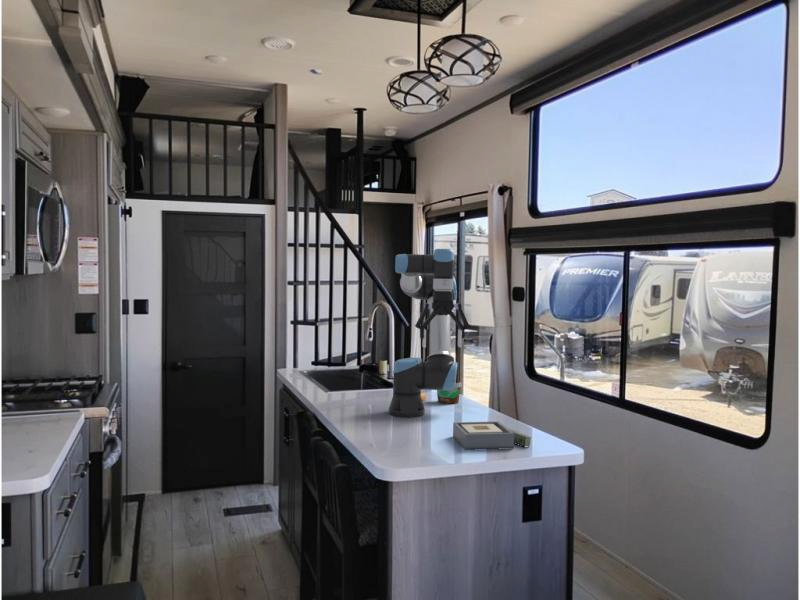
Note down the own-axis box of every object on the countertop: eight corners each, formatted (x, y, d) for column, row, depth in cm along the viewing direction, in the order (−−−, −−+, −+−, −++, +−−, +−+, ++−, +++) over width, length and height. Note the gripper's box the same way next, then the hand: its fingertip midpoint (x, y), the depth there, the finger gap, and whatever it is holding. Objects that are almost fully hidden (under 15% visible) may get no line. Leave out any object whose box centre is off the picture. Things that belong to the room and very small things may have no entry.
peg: (404, 396, 286) (425, 393, 293) (399, 394, 289) (420, 392, 296) (404, 404, 286) (425, 402, 293) (399, 403, 289) (420, 400, 296)
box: (452, 437, 231) (453, 422, 231) (498, 436, 234) (498, 421, 233) (465, 450, 214) (465, 434, 214) (513, 449, 217) (514, 433, 217)
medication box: (530, 447, 220) (531, 436, 220) (524, 448, 219) (525, 436, 219) (507, 438, 230) (508, 427, 230) (501, 439, 229) (503, 428, 229)
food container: (432, 404, 287) (432, 382, 287) (434, 401, 293) (435, 380, 292) (459, 406, 284) (460, 384, 284) (461, 403, 290) (462, 381, 290)
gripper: (412, 290, 232) (411, 348, 233) (478, 291, 236) (477, 348, 237) (408, 289, 239) (407, 345, 240) (472, 290, 243) (471, 345, 244)
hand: (442, 347), depth 238 cm, fingers open, 13 cm apart
